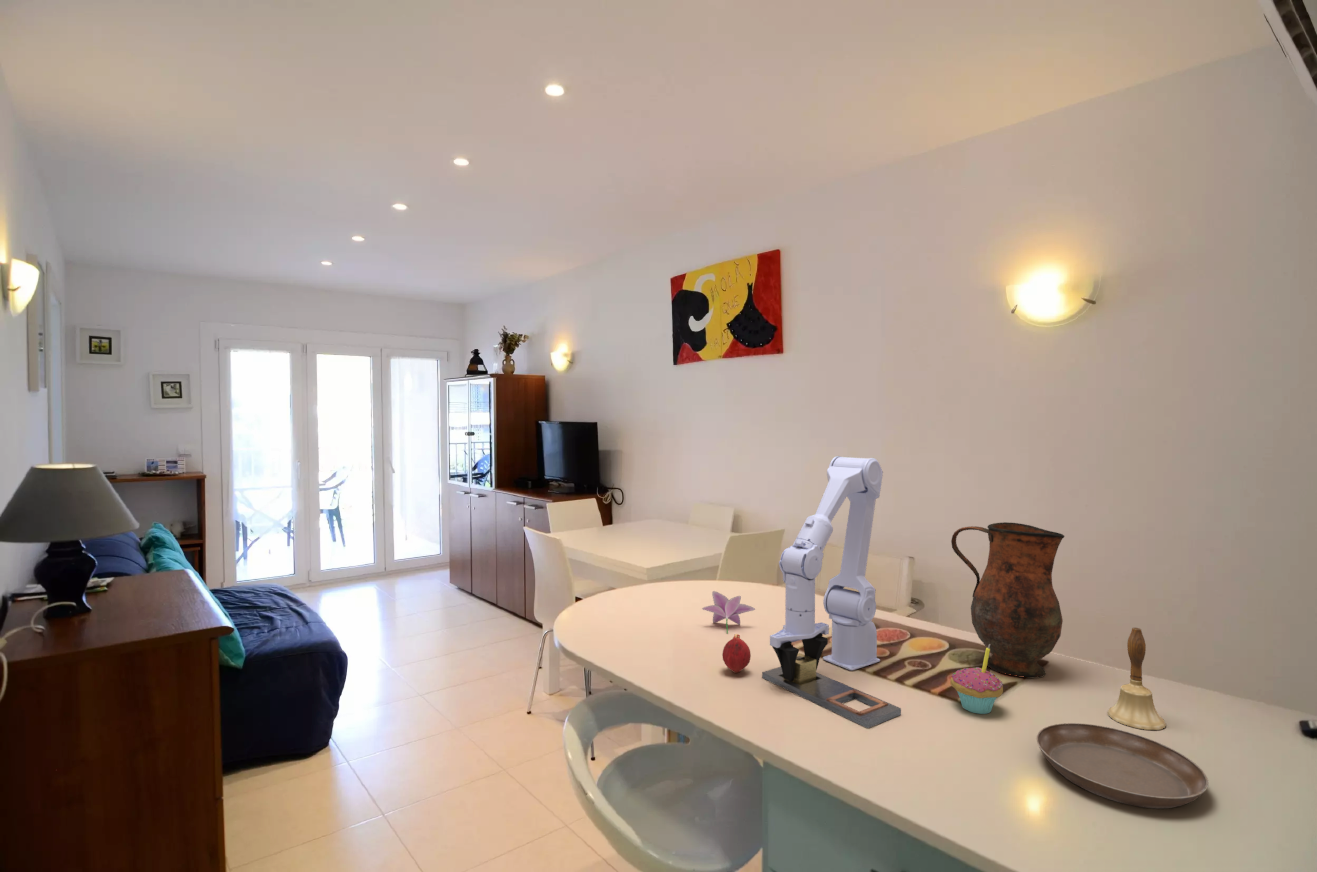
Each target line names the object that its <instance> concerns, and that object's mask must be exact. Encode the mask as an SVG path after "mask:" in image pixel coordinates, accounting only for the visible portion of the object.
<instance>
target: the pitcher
mask: <svg viewBox="0 0 1317 872" xmlns="http://www.w3.org/2000/svg"><path fill="white" fill-rule="evenodd" d="M972 530H973V531H979V532H983V533H985V534H987V537H988V541H989V547H988V548H989V552H988V557H987V564H986V567H985V569H984V572H982V573H983V574H982V576H981V577H980V573H979V571H978V569H977V567H976V566H975V565H974V564H973V563H972V562H971V561H970V560H969V559H968V558H967V557H966V556H965V555H964V554H963V552H961V550H960V549H959V547H958V545H957V537H958V535H959V534H960V533H962V532H963V531H972ZM1064 538H1065V535H1064V534H1063V533H1060V532H1057V531H1051V530H1047V529H1043V528H1040V527H1037V526H1034V525H1031V524H1026V523H1020V522H1019V523H1018V522H1004V521H1003V522H994V523H990V524H988V525H987V528H986V527H982V526H973V525H972V526H964V527H961V528H959V529H956V531H954V532H953V534H952V537H951V541H950V542H951V547H952V550H953V552H954V553H955V554H956V555H957V556H958V557H959V559H960V560H961V561H962V562H964V564H965V565H966V566H967V567H968V568H969V569H970V570H971V571H972V573H973V574H974V575H975V577H976V584H975V587H974V590H973V592H972V602H971V604H970V615H971V616H970V617H971V624H972V626H973V628H974V630H975V633H976V635H977V637H978V639H979V640H980V641H981V642H982V643H983V644H984V646H985V647H986V648H988V646H989V644H990V647H989V649H990V652H989V653H991V657H990V656H989V657H988V663H987V666H988V667H987V668H989V667H990V668H991V669H990V668H989V669H990V670H992V669H993V670H992V671H994V670H995V672H997V671H998V672H997V673H999V672H1001V673H1000V674H1002V673H1006V674H1011V675H1017V676H1024V677H1039V678H1043V677H1044V676H1045V675H1046V670H1045V668H1044V667H1043V666H1042V665H1040V664H1039V663H1038V661H1040V660H1042V659H1043V658H1045V657H1046V656H1047V655H1049V654H1050V653H1051V652H1052V651H1053V650H1054V648H1055V646H1056V645H1057V643H1058V641H1059V639H1060V637H1061V635H1062V627H1063V622H1064V621H1063V620H1064V619H1063V615H1062V610H1061V607H1060V606H1061V605H1060V602H1059V599H1058V596H1057V594H1056V591H1055V590H1054V586H1053V576H1052V575H1053V568H1054V564H1055V558H1056V556H1057V552H1058V549H1059V546H1060V545H1061V542H1062V540H1063V539H1064ZM1006 674H1005V675H1006ZM1042 676H1043V677H1042Z"/></svg>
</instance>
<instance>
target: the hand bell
mask: <svg viewBox="0 0 1317 872" xmlns="http://www.w3.org/2000/svg"><path fill="white" fill-rule="evenodd" d="M1126 644H1127V654H1128V657H1129V661H1130V662H1129V663H1130V675H1129V678H1130V679H1129V683H1126V684H1122V685H1121V686H1120V689H1119V690H1120V691H1119V695H1118V698H1117V701H1116V703H1115V704H1114V705H1113V706H1112V707H1110V708H1108V710H1107V711H1106V713H1107V715H1109V716H1110V717H1111V718H1112V719H1111V718H1110V717H1109V716H1108V717H1109V718H1110V719H1111V720H1113V721H1114V720H1115V721H1114V722H1117V723H1118V722H1119V723H1118V724H1121V725H1123V724H1124V726H1126V725H1127V726H1126V727H1131V728H1134V729H1139V730H1143V729H1144V730H1145V731H1161V730H1163V728H1164V729H1165V728H1166V727H1167V723H1166V721H1165V720H1164V718H1162V716H1161V715H1160V714H1159V713H1158V712H1157V710H1156V706H1155V704H1154V699H1153V693H1152V691H1151V690H1150V689H1149V688H1147V687H1145V686H1144V685H1143V672H1142V671H1143V662H1144V659H1145V656H1146V651H1147V650H1146V648H1147V647H1146V641H1145V637H1144V635H1143V632H1142V629H1141V628H1140V627H1132V628H1131V632H1130V634H1129V636H1128V639H1127V643H1126ZM1165 726H1166V727H1165Z"/></svg>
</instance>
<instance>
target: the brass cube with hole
mask: <svg viewBox="0 0 1317 872" xmlns="http://www.w3.org/2000/svg"><path fill="white" fill-rule="evenodd" d="M816 672H817V670H816V659H814V658H811V657H809V656H806V655H805V654H804V653H801V652H798V655H797V658H796V663H795V675H794V680H793V681H792V682H794V683H796V684H798V685H803V684H806V683H809V682H812V681H816ZM783 678H784V677H783Z"/></svg>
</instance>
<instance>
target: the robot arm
mask: <svg viewBox="0 0 1317 872" xmlns="http://www.w3.org/2000/svg"><path fill="white" fill-rule="evenodd" d="M883 473H884V471H883V469H882V467H881V464H880V462H879V460H878V459H877V458H874V457H849V456H847V457H845V456H840V455H838V456H837V455H836V456H834V457H832V459H831V461H830V463H829V465H828V468H827V469H826V476H827V485H826V487H825V489H824V492H823V495H822V497H821V499H820V501H819V504H818V506H817V509H816V511H815V514H812V515H809V516H807V517H806V519H805V520H804V523H803V525H802V526H801V529H800V530H799V532H798V534H797V535H796V538H795V540H794V541H793V544H792V545H790V546H789V547H787V548H785V549H784V550H783V551H782V553H781V555H780V560H779V561H778V565H779V567H778V568H779V569H780V571H781V574H782V581H783V583H784V584H785V600H784V601H785V615H784V616H785V623H784V625H782V629H780V630H778V631H777V632H775V633H773V634H771V635H769V646H771V647H772V649H773V651H774V652H775V654H776V656H777V658H778V661H779V664H780V667H781V668H782V672H783V677H784V679H787V680H789V681H793V680H794V675H795V663H796V658H797V655H798V653H800V649H799V648H797V647H795V646H794V645H793V644H792V643H794V642H799V641H801V643H802V647H803V652H804V653H803V654H804V655H806V656H809V657H811V658H814V659H816V671H817V670H818V666H819V663H820V659H821V656H822V653H823V651H824V650H825V649H826V646H827V645H828V643H829V641H828V640H829V639H828V638H827V637H825V636H827V635H829V634H830V631H829V629H830V627H829V626H830V624H827V623H825V622H815V621H816V578H817V577H818V576H819V574H820V573H821V571H822V568H823V558H824V549H825V548H826V545H827V543H828V542H829V540H830V538H831V535H832V534H833V531H834V527H833V525H832V521H833V520H834V518H835V516H836V515H837V513H838V512H839V510H840V508H841V507H842V505H843V503H844V502H845V501H846V498H847V499H848V500H849V503H850V504H849V509H848V515H847V521H846V522H847V523H846V530H845V537H844V543H843V551H842V557H841V565H840V572H839V573H838V574H837V575H835V576H834V577H832V578H830V579H829V580H828V585H827V589H826V591H825V592H824V593H825V594H824V596H823V599H822V602H823V608H824V611H825V612H826V614H828V619H829V620H831V654H828V655H826V656H825V655H824V656H823V657H822V659H823V660H824V661H826V662H828V663H831V664H833V665H836V666H839V667H840V668H841V667H842V668H844V669H846V670H847V671H848V670H849V671H855V670H858V669H861V668H864V667H867V666H869V665H873V664H876V663H879V662H881V659H880V658H878V657H877V655H878V654H877V653H878V650H877V649H878V646H877V643H878V635H877V634H878V633H877V632H878V631H877V628H876V625H875V623H874V622H873V621H872V620H873V619H874V617H875V615H876V612H877V602H876V588H875V587H874V586H873V584H871V582H870V581H869V580H868V579H867V578H866V572H867V564H868V559H869V558H868V557H869V551H870V546H871V545H870V543H871V536H872V530H873V525H874V523H873V522H874V517H875V516H874V515H875V509H876V508H875V507H876V503H877V501H876V500H877V499H879V498H880V496H881V495H880V494H881V491H882V490H881V489H882V483H883V477H884V475H883ZM849 588H850V589H849ZM852 589H853V590H852ZM823 635H825V636H823Z"/></svg>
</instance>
